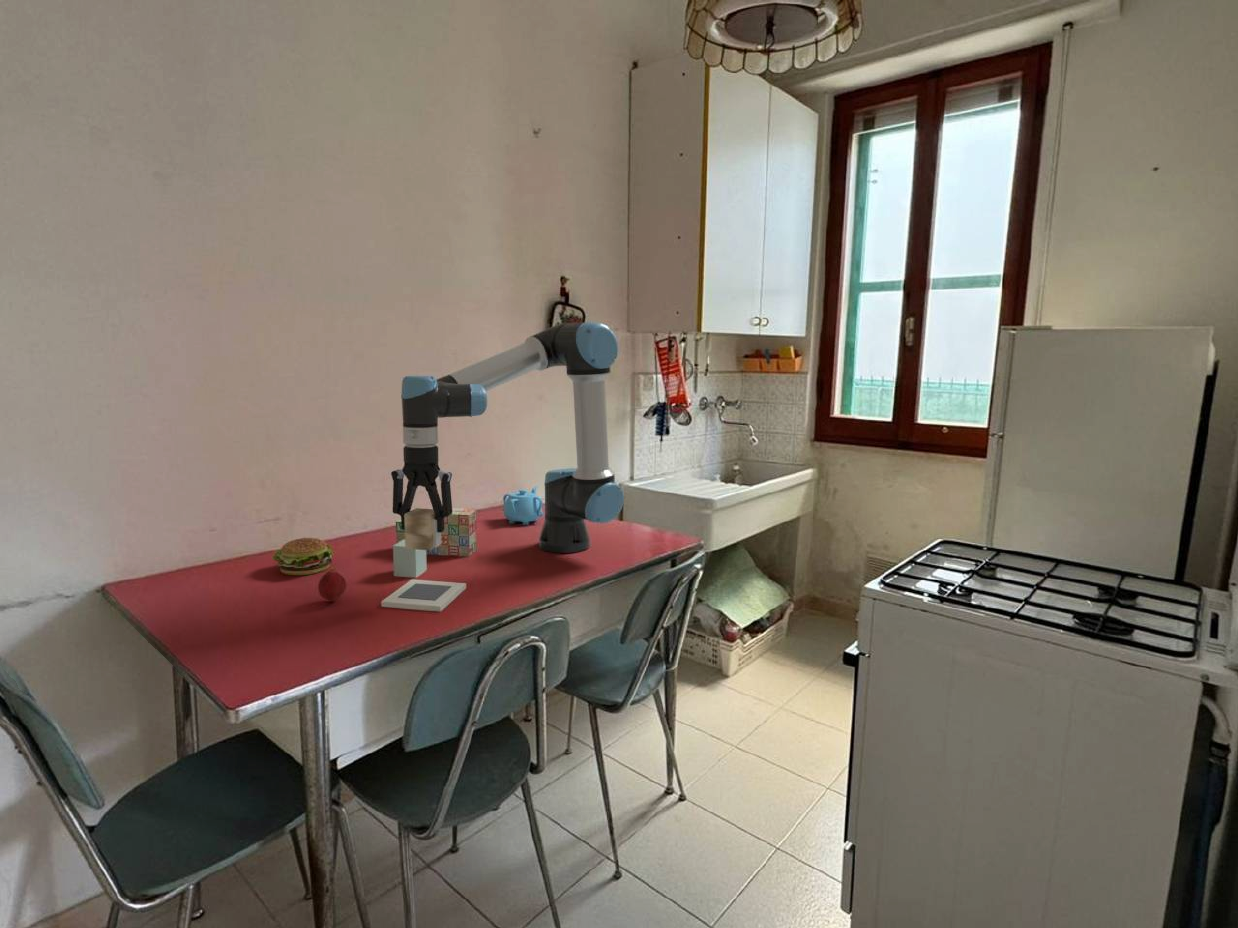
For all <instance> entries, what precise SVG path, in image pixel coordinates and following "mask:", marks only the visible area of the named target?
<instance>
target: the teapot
mask: <svg viewBox="0 0 1238 928" xmlns="http://www.w3.org/2000/svg"><path fill="white" fill-rule="evenodd" d="M537 488H538V486H533V488H532V490H531V492H529V491H528V490H527V489H525V488H524V489H523V488H521V489H519V490H518V491H517V492H516V491H515V492H512V493H506V494H504V495H503V499H502V500H503V504H504V506H503V508H502V511H503V516H504V517H505V519H506V520H509V521H508V524H515V523H516V522H522V526H529V525H530V522H533V523H534V522H537V520H538V519H539V518H540V517H543V516H544V512H543V509H542V508H543V503H544V501H543V499H542V497H540V496H538V495H537Z"/></svg>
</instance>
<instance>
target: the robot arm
mask: <svg viewBox="0 0 1238 928" xmlns="http://www.w3.org/2000/svg"><path fill="white" fill-rule="evenodd" d="M618 343H619V342H618V339H617V337H616V335H615V333H614V332H613V330H611V328H610V327H609V326H607V325H606V324H604V323H601V322H595V321H585V322H583V321H582V322H562V323H560V324H555V325H554V326H551V327H548V328H547V329H545V330H542V331H540V332H538V333H535V334H534V335H530V336H529V337H526V339H525V340H524V343H521V344H519V345H517V346H514V347H512V348H510V349H508V350H507V349H506V350H505V351H502V352H500V353H497V354H495V355H493V356H490V357H488V358H485V359H482V360H480V361H478V362H476V363H474V364H471V365H469V366H466V367H464V368H462V369H459V370H457V371H453V372H452V373H449V374H447V375H444V376H442V377H439V378H437V377H436V376H434V375H406V376H404V377H403V378H402V380H401V395H400V398H401V407H402V408H401V409H402V413H401V414H402V436H403V437H402V440H403V441H402V443H403V444H404V445H405V446H404V447H403V449H402V450H403V452H402V453H403V463H404V465H403V467H402V469H395V470H392V471H391V474H390V475H391V478H392V482H393V483H392V484H393V486H392V488H393V489H392V513H393V514H396V515H399V516H400V519H401V528H402V530H405V520H404V514H406V513H408V512H410V511H412V510H411V509H412V507H413V503H414V500H415V495H416V492H417V490H418V487H422V488H423V487H424V488H425V491H426V492H427V495H428V498H429V501H430V504H431V507H432V509H433V510H434V513H435V516H436V518H434V519H433V547H438V546H439V545H441V532H443V531H444V529H445V528H444V518H445V517H447V516H449V515H451V514H452V508H453V502H452V501H453V500H452V490H451V489H452V488H451V482H452V481H451V480H452V478H453V477H452V476H453V474H452V472H451V471H448V472H446V471H443V470H441V468H440V466H439V447H438V446H437V444H438V443H439V429H438V424H439V421H438V420H439V419H441V418H457V417H460V418H461V417H462V418H463V417H464V418H465V417H469V418H472V417H477V416H481V415H483V414H484V413H485V411H486V410H487V407H488V394H487V392H488V391H490V390H492V389H495V388H496V387H499V386H501V385H504V384H505V383H508V382H510V381H512V380H513V381H514V379H517V378H519V377H522V376H523V375H526V374H528V373H531V372H533V371H535V370H537V371H544V370H547V369H549V368H553V367H561V366H563V367H565V368H566V376H567V377H568V378H569V379H570V380H571V381H572V387H573V391H572V392H573V408H574V426H575V427H574V428H575V445H576V446H575V447H576V463H577V464H576V467H577V468H576V467H575V468H574V467H573V468H561V469H559V468H558V469H553V470H549V471H547V472H546V473H545V476H544V477H545V478H544V522H543V525H542V529H541V532H540V534H539V538H538V547H539V549H541V550H543V551H546V552H550V553H559V554H564V553H565V554H566V553H567V554H569V553H578V552H582V551H585V550H587V549H589V548H590V547H591V536H590V533H589V531H588V527H587V523H586V521H588V522H591V523H597V524H600V525H601V524H603V525H604V524H608V523H610V522H612V521H613V520H614V519H615V518H617V516H618V515H619V513H620V512H621V511H622V508H623V506H624V499H625V495H624V494H625V493H624V491H623V489H622V488H621V487H620V485H619V484H617V483H616V480H615V477H616V476H615V475H616V474H615V472H614V470H613V469H612V468H611V467H610V466H609V465H610V464H609V448H608V447H609V445H608V443H609V441H608V421H607V419H608V417H607V398H606V394H607V393H606V380H607V378H608V376H610V374H611V366H613V364H614V363H615V361H616V359H617V357H618V355H619V344H618ZM405 477H406V479H407V480H408V481H407V485H406V491H405V495H404V478H405ZM438 477H439V481H440V490H441V491H440V493H441V494H439V491H438V485H437V482H436V480H437V478H438ZM440 495H441V497H440ZM585 520H586V521H585Z"/></svg>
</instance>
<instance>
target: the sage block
mask: <svg viewBox="0 0 1238 928" xmlns="http://www.w3.org/2000/svg"><path fill="white" fill-rule="evenodd" d="M392 554H393V556H392V557H393V576H394V577H400V578H401V577H402V578H413V579H414V578H415V579H417V578H419V576H421V575H422V574H423V573H425V572H427V569H428V567H427V554H426V550H418V549H405V539H404V540H402V541H400V542H399V543H397V542H396V543H395V544H393V545H392Z"/></svg>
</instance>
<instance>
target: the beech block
mask: <svg viewBox="0 0 1238 928" xmlns="http://www.w3.org/2000/svg"><path fill="white" fill-rule="evenodd" d="M434 518H436V516H435V513H434V510H433V508H432V509H431V508H419V507H418V508H416V507H415V508H414V509H412V510H410V512H408V513H406V514H404V520H405V549H418V550H432V549H433V548H435V547H433V519H434Z"/></svg>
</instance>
